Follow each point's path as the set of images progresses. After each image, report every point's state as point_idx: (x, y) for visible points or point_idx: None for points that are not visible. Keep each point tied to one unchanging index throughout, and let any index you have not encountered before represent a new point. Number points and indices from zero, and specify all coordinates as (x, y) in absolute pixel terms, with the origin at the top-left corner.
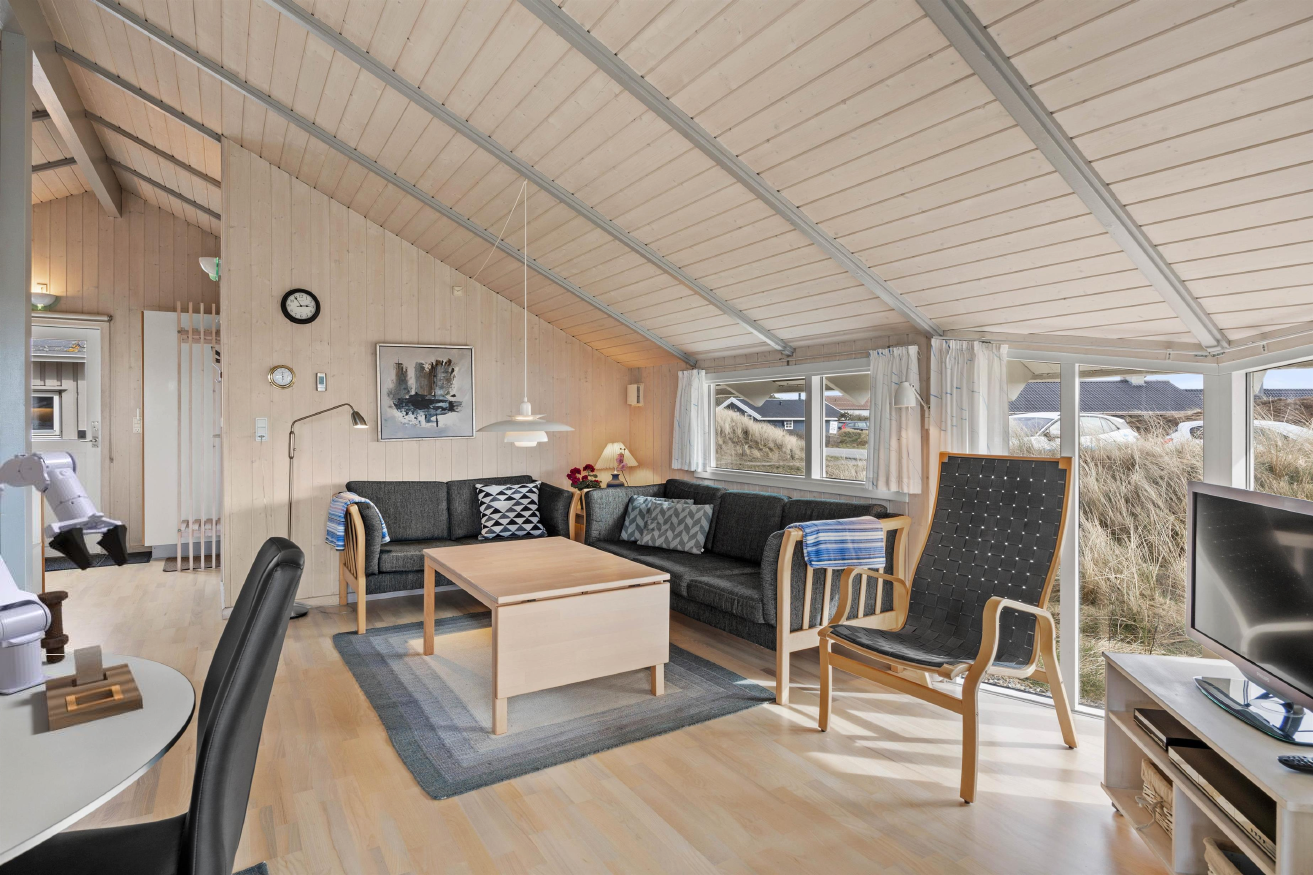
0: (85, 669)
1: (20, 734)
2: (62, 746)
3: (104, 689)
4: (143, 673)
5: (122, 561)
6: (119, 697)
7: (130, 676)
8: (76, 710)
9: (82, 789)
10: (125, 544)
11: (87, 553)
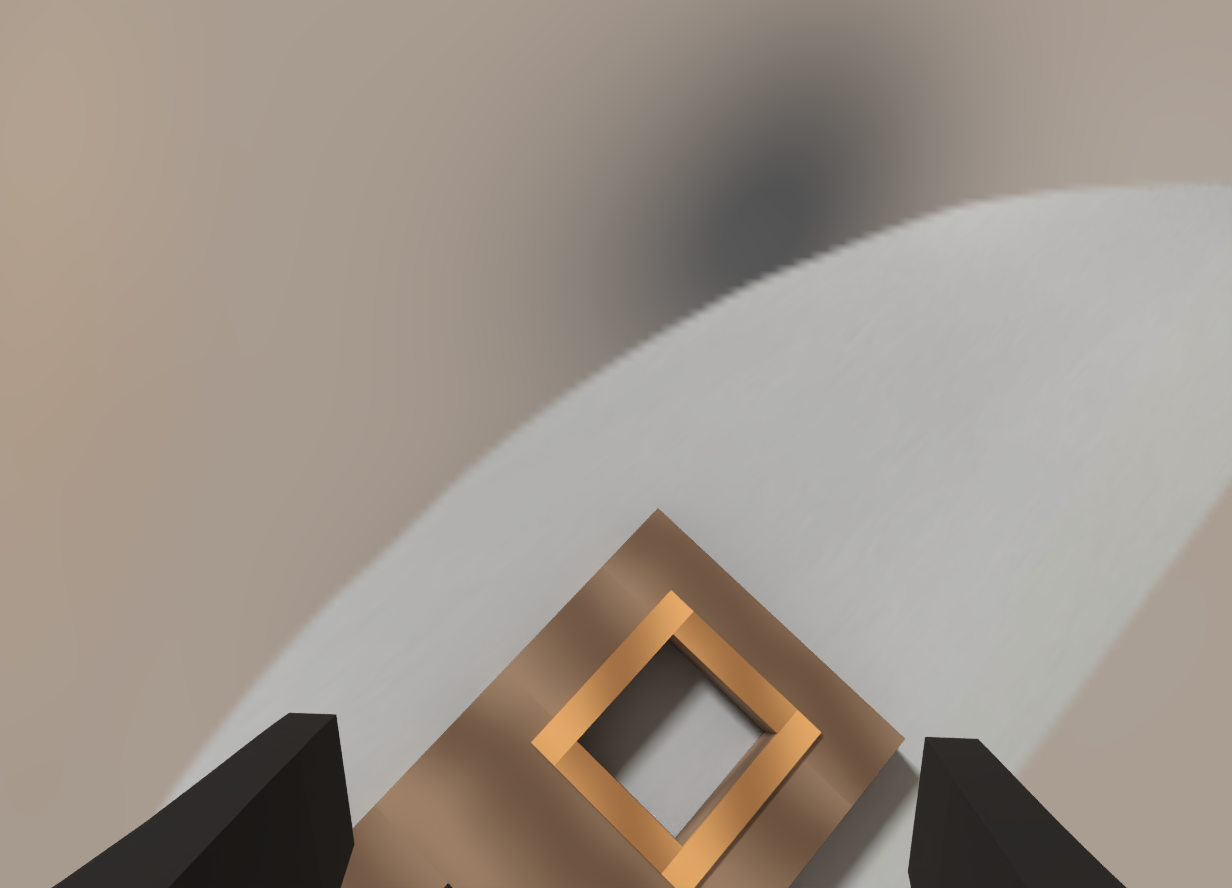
0: None
1: None
2: (985, 560)
3: (588, 769)
4: None
5: (331, 790)
6: (676, 605)
7: (403, 790)
8: (809, 698)
9: (1190, 255)
10: (77, 881)
11: (1041, 843)
